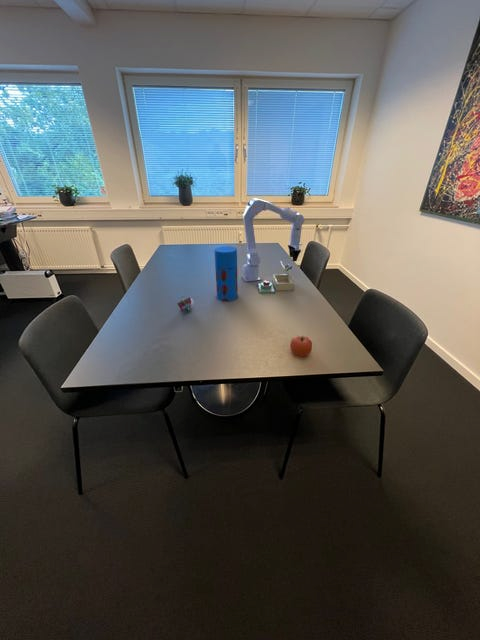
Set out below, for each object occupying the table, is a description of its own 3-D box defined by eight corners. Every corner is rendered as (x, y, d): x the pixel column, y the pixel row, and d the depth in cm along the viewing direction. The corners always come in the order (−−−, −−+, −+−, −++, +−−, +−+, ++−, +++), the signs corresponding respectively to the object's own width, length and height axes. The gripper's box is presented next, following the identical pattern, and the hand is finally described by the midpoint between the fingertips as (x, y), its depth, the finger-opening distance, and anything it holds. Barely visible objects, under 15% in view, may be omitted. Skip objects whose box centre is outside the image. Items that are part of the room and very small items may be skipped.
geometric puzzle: (175, 310, 118) (184, 297, 115) (174, 304, 123) (182, 290, 121) (188, 317, 121) (197, 303, 119) (187, 310, 127) (195, 297, 125)
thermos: (235, 302, 130) (234, 253, 117) (214, 300, 132) (211, 251, 119) (239, 292, 139) (239, 246, 126) (220, 291, 141) (217, 245, 128)
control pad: (260, 293, 138) (260, 288, 137) (257, 285, 148) (258, 280, 146) (274, 292, 139) (275, 287, 137) (271, 284, 148) (272, 279, 147)
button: (263, 285, 141) (263, 282, 140) (263, 283, 143) (263, 280, 142) (269, 285, 141) (269, 282, 140) (268, 283, 143) (268, 280, 142)
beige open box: (276, 290, 141) (276, 283, 139) (272, 281, 153) (273, 274, 150) (293, 290, 142) (293, 283, 140) (288, 280, 153) (288, 274, 151)
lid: (284, 269, 135) (290, 265, 134) (279, 261, 146) (285, 257, 145) (293, 283, 139) (299, 279, 138) (288, 274, 151) (293, 270, 150)
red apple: (313, 359, 92) (316, 342, 88) (291, 359, 92) (293, 343, 88) (308, 346, 98) (310, 330, 95) (287, 346, 98) (289, 330, 94)
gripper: (305, 239, 142) (302, 262, 149) (299, 232, 154) (296, 255, 161) (293, 239, 141) (290, 263, 148) (287, 233, 154) (285, 255, 161)
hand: (293, 259), depth 155 cm, fingers open, 7 cm apart
